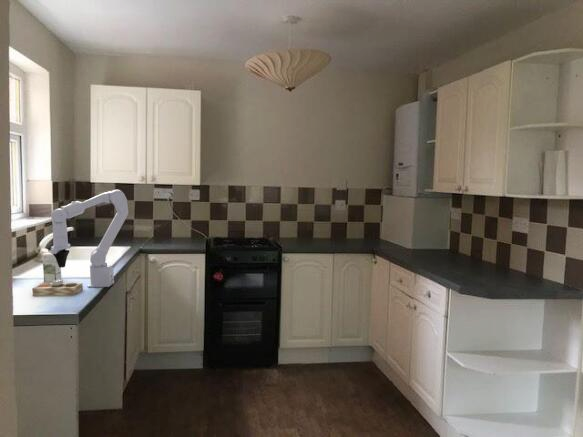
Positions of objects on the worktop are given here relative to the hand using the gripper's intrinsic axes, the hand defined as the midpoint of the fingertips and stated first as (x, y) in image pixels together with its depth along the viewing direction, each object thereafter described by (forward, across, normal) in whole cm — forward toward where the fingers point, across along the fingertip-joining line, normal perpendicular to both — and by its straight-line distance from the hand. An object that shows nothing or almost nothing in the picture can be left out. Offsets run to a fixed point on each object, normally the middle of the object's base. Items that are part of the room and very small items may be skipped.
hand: (62, 267), depth 213 cm
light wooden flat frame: (+9, +7, +1) cm, 12 cm away
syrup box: (+10, -8, -8) cm, 15 cm away
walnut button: (+8, +7, +7) cm, 13 cm away
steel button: (+7, +7, +1) cm, 10 cm away
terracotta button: (+8, +7, -5) cm, 12 cm away
